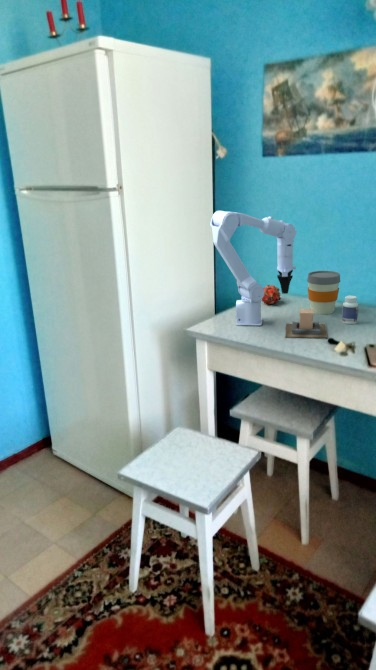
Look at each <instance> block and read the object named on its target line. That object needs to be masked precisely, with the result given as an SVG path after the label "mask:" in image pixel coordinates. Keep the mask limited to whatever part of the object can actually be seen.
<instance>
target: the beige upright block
mask: <svg viewBox="0 0 376 670" xmlns="http://www.w3.org/2000/svg"><path fill="white" fill-rule="evenodd" d="M299 322H300V327H299V329H313V322H314V313H313V309H311V308H308V309H303V308H302V309H301V308H299Z"/></svg>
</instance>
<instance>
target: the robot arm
mask: <svg viewBox="0 0 376 670" xmlns="http://www.w3.org/2000/svg"><path fill="white" fill-rule="evenodd" d="M209 225H210V227H211V228H212V229H211V230H212V231H211V232H212V241H213V245H214V246H215V248H216V250H217V251H218V253H219V255H220V256H221V257H222V259H223V260H224V262H225V264H226V265H227V267H228V268H229V270H230V272H231V273H232V274H233V275H232V276H233V277H234V278H235V280H236V285H237V290H238V293H239V294H240V296H241V299H236V303H235V320H236V322H235V325H236V326H260V327H261V326H262V324H263V318H262V298H263V296H264V288H265V287H263V286H262V285H261V284H259V283H258V281H257V280H256V279H255V278H254V277H253V276H251V275H250V272H249V271H248V269H247V268H246V266H245V265H244V263H243V261H242V260H241V258H240V256H239V254H238V253H237V251H236V250H235V247H234V246H233V245H232V243H231V239H232V237H233V235H234V233H235V232H236V231H237V230H236V229H238V228H239V227H240V228H241V227H242V226H243V225H245V226H249V227H253V228H257V229H259V231H260V232H261V234H265V235H269V236H272V237H275V238H276V239H277V240H276V242H277V244H276V245H277V255H276V257H277V267H276V270H277V273H278V274H277V276H276V278H277V279H278V282H279V284H280V290H281V294H283V295H284V294H288V293H289V292H290V291H289V289H290V284H291V282H292V279H293V275H292V273H293V272H294V271H293V270H297V266H296V265H294V239H295V237H296V235H297V230H296V228H295V226H294V225H293V224H292V223H287V222H284V220H282V219H280V220H277V219H274V217H273V216H267V217H266V216H265V217H264V218H258V217H254V216H251V215H249V214H246V213H242V212H235V211H224V210H222V209H221V210H216V211H215V212H214V213H213V215H212V217H211V220H210V223H209Z"/></svg>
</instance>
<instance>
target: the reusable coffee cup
mask: <svg viewBox="0 0 376 670" xmlns="http://www.w3.org/2000/svg"><path fill="white" fill-rule="evenodd" d="M306 281H307V284H308V285H307V294H308V295H307V296H308V300H309V305H310V306H309V307H310V309H313V314H316V315H330V314H333V313H334V311H335V308H336V301H338V298H339V292H340V287H339V286H340V283H341V274H340V272H337V271H334V270H314V271H311V272H308V273H307V279H306Z"/></svg>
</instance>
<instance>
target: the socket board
mask: <svg viewBox="0 0 376 670" xmlns="http://www.w3.org/2000/svg"><path fill="white" fill-rule="evenodd" d="M299 327H300V321H292V323H289V322H288V323H287V322H286V323H285V336H284V337H285V339H322V340H323V339H326V340H327V339H328V333H327V327H326V323H320V322H319V321H313V329H299Z"/></svg>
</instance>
